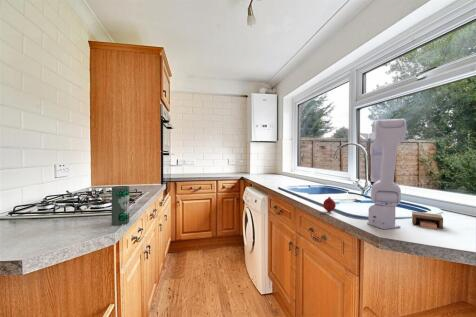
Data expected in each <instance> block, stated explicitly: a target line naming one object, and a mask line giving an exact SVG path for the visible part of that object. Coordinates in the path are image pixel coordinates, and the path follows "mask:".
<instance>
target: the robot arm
mask: <svg viewBox="0 0 476 317" xmlns="http://www.w3.org/2000/svg"><path fill="white" fill-rule="evenodd" d="M407 127H408V126H407V120H406V119H405V118H395V119H394V118H392V119H376V120H375V121H374V124H373V132H374V136H375V139H374V140H373V143H370V147H369V155H370V177H369V178H370V179H372V180H370V184H371V189H370V200H371V202H372V203H374V204H372V205H370V206H369V207H368V215H367V216H368V220H367V221H366V224H368V225H369V226H370V225H371V226H373V227H376V228H378V229H382V230H387V229H397V228H401V225H398V224H396V207H397V206H398V205H399V204H400V203H401V200H402V191H401V187H400V185H399V184H397V183H396V182H394V181H395V180H394V177H395V169H396V162H397V156H398V155H397V153H398V148H399V146H400V144H401V143H403V142H404V141H405V139H406V135H407Z"/></svg>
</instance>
